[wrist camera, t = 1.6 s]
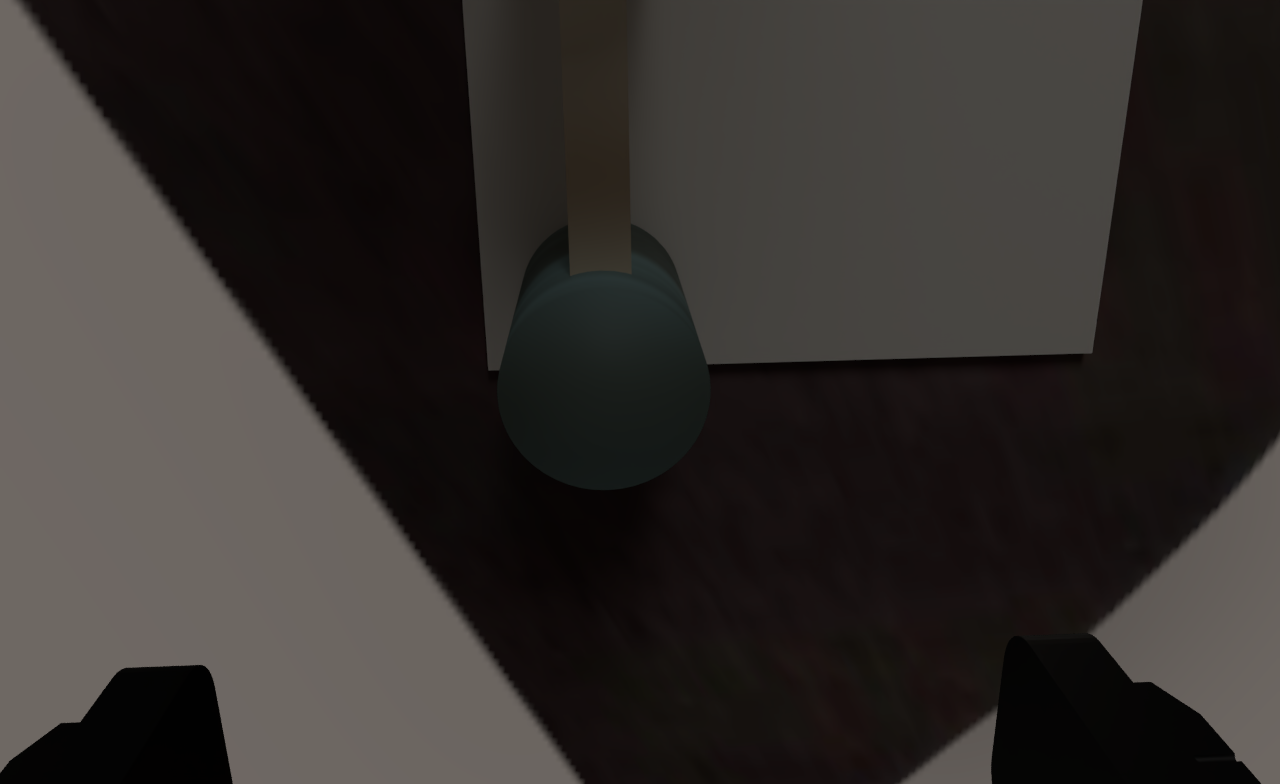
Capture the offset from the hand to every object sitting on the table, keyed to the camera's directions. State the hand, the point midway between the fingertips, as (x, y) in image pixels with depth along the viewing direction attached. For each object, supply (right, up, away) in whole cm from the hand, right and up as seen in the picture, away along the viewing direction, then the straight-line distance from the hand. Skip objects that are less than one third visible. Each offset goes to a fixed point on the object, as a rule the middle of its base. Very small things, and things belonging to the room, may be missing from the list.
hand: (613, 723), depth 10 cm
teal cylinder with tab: (-1, +9, +14) cm, 17 cm away
